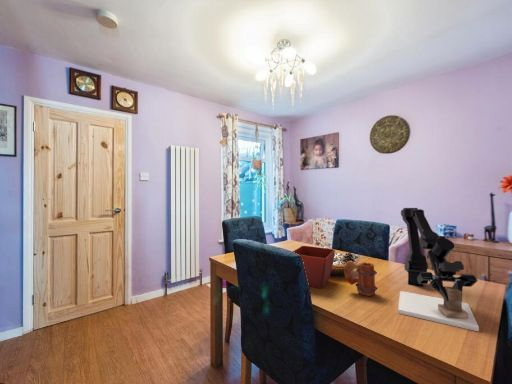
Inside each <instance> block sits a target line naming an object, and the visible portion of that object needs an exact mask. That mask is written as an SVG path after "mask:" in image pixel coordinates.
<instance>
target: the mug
mask: <svg viewBox="0 0 512 384" xmlns="http://www.w3.org/2000/svg"><path fill="white" fill-rule="evenodd" d="M354 270H356V272H357V274H358V275H357V276H356V277H354V276H352V274H351V272H352V271H354ZM343 273H344V278H345V280H347V282H348V283H349V285H351V286H353V285H354V284H355V287H356V291H357V292H358V293H359V294H360V295H362V296H365V297H371V296H374V295H375V294H376V291H377V290H378V287H377V286H376V278H375V277H376V275H377V273H378V272H377V271H376V270H375V265H374V263H373V262H372V263H371V262H366V261H362V262H360V263H358V264H357V263H355V262H354V261H352V260H348V261H347V262H346V263H345V265H344V267H343Z"/></svg>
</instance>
